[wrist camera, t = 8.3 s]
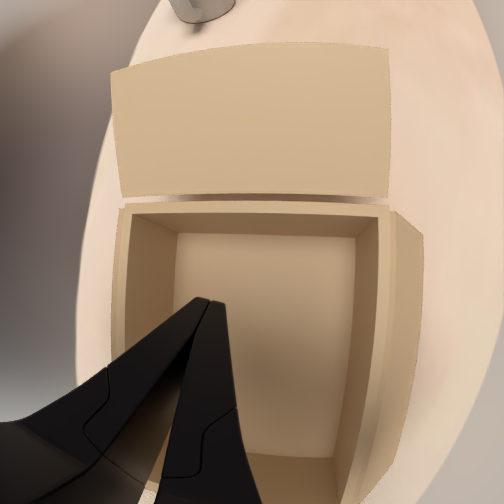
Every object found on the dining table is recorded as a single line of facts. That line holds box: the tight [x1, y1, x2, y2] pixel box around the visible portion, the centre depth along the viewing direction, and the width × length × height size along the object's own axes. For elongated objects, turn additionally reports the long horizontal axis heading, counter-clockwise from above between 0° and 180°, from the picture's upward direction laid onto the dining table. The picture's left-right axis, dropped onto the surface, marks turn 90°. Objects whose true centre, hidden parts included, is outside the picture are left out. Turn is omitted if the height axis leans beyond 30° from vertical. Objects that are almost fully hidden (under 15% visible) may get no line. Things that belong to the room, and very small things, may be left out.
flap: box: [111, 42, 391, 198], centre depth 12 cm, size 7×13×1 cm
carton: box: [111, 201, 424, 504], centre depth 16 cm, size 22×22×7 cm
